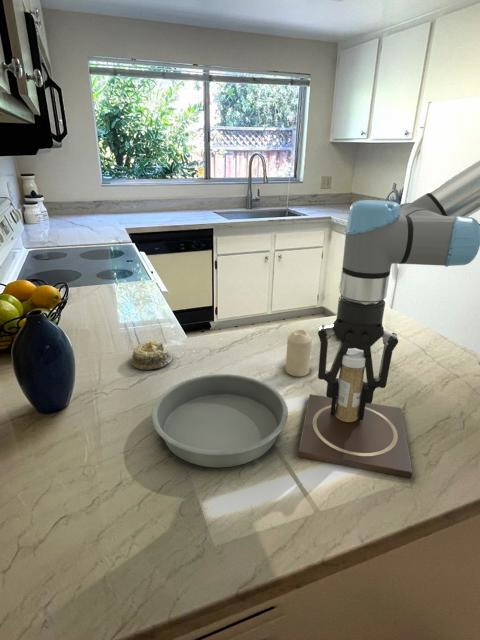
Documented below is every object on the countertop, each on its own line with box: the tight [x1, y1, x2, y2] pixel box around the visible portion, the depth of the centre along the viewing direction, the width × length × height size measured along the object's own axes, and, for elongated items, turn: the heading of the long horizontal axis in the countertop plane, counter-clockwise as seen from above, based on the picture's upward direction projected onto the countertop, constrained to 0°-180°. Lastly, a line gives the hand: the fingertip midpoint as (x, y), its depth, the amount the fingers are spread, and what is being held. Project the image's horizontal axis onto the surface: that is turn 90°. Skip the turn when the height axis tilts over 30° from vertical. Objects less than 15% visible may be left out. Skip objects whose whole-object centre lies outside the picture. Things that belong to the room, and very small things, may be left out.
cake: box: [131, 340, 173, 371], centre depth 98 cm, size 10×10×5 cm
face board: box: [297, 393, 413, 479], centre depth 74 cm, size 18×18×1 cm
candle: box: [285, 329, 313, 377], centre depth 93 cm, size 6×6×10 cm
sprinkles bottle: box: [335, 348, 366, 422], centre depth 74 cm, size 5×5×13 cm
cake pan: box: [151, 373, 289, 468], centre depth 74 cm, size 25×25×4 cm
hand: (346, 413), depth 76 cm, fingers closed on sprinkles bottle, 4 cm apart
